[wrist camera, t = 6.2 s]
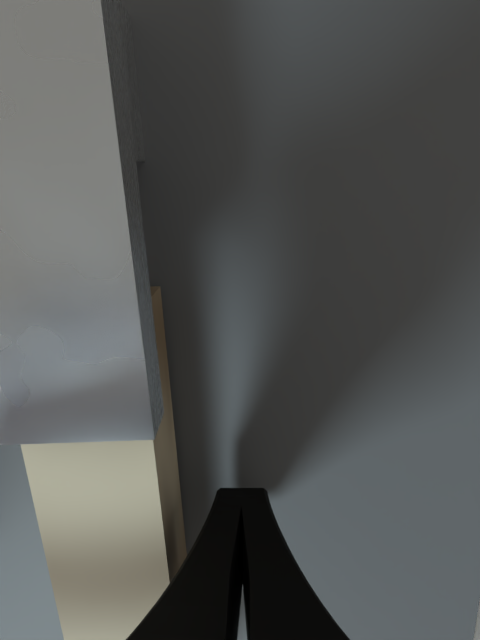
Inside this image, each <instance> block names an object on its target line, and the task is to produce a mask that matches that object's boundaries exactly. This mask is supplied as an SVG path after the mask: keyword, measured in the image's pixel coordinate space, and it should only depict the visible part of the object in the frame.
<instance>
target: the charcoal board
mask: <svg viewBox="0 0 480 640" xmlns="http://www.w3.org/2000/svg"><path fill="white" fill-rule="evenodd" d="M120 2H121V3H122V5H123V6H124V7H125V9H126V10H127V12H128V13H129V15H130V20H131V30H132V39H133V48H134V58H135V67H136V77H137V86H138V96H139V105H140V114H141V124H142V133H143V143H144V152H145V161H144V162H136V166H137V175H138V184H139V193H140V202H141V210H142V219H143V228H144V237H145V246H146V255H147V264H148V273H149V282H150V287H154V286H160V289H161V299H162V309H163V319H164V329H165V339H166V349H167V359H168V370H169V380H170V390H171V400H172V410H173V420H174V430H175V440H176V450H177V461H178V471H179V481H180V491H181V501H182V511H183V521H184V531H185V542H186V552H187V555H188V553H189V552H190V550H191V548H192V546H193V545H194V543H195V541H196V539H197V537H198V535H199V533H200V531H201V529H202V527H203V525H204V523H205V521H206V519H207V516H208V514H209V512H210V510H211V507H212V504H213V502H214V499H215V496H216V492H217V491H218V490H219V489H220V488H264V489H265V490H266V491H267V492H268V497H269V501H270V504H271V507H272V510H273V513H274V516H275V518H276V521H277V523H278V525H279V528H280V530H281V532H282V534H283V536H284V538H285V540H286V542H287V545H288V547H289V549H290V551H291V553H292V554H293V556H294V558H295V560H296V562H297V564H298V565H299V567H300V569H301V571H302V572H303V574H304V576H305V577H306V579H307V581H308V582H309V584H310V585H311V587H312V589H313V590H314V592H315V593H316V595H317V596H318V598H319V599H320V601H321V602H322V604H323V605H324V606H325V608H326V609H327V611H328V612H329V613H330V615H331V616H332V617H333V619H334V620H335V622H336V623H337V624H338V625H339V627H340V628H341V629H342V630H343V632H344V633H345V634H346V635H347V637H348V638H349V639H350V640H473V638H474V632H475V625H476V619H477V612H478V606H479V599H480V0H120ZM0 640H64V638H63V633H62V629H61V624H60V620H59V615H58V611H57V606H56V602H55V597H54V593H53V588H52V584H51V579H50V575H49V570H48V566H47V561H46V557H45V552H44V548H43V543H42V539H41V534H40V530H39V525H38V521H37V516H36V512H35V507H34V503H33V498H32V494H31V489H30V485H29V481H28V476H27V472H26V467H25V463H24V458H23V454H22V449H21V445H20V444H19V445H0ZM237 640H247V631H246V619H245V606H244V594H243V585H242V596H241V606H240V616H239V626H238V636H237Z"/></svg>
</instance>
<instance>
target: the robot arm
mask: <svg viewBox="0 0 480 640" xmlns="http://www.w3.org/2000/svg"><path fill="white" fill-rule="evenodd" d="M242 585H243V594H244V606H245V619H246V631H247V640H350V639H349V638H348V637H347V635H346V634H345V633H344V632H343V630H342V629H341V628H340V627H339V625H338V624H337V623H336V622H335V620H334V619H333V617H332V616H331V615H330V613H329V612H328V611H327V609H326V608H325V606H324V605H323V604H322V602H321V601H320V599H319V598H318V596H317V595H316V593H315V592H314V590H313V589H312V587H311V585H310V584H309V582H308V581H307V579H306V577H305V576H304V574H303V572H302V571H301V569H300V567H299V565H298V564H297V562H296V560H295V558H294V556H293V554H292V553H291V551H290V549H289V547H288V545H287V542H286V540H285V538H284V536H283V534H282V532H281V530H280V528H279V525H278V523H277V521H276V518H275V516H274V513H273V510H272V507H271V504H270V501H269V497H268V492H267V491H266V490H265V489H264V488H220V489H219V490H218V491H217V492H216V496H215V499H214V502H213V504H212V507H211V510H210V512H209V514H208V516H207V519H206V521H205V523H204V525H203V527H202V529H201V531H200V533H199V535H198V537H197V539H196V541H195V543H194V545H193V546H192V548H191V550H190V552H189V553H188V555H187V557H186V558H185V560H184V562H183V563H182V565H181V567H180V568H179V570H178V572H177V573H176V575H175V576H174V578H173V579H172V581H171V582H170V584H169V585H168V587H167V588H166V590H165V591H164V592H163V594H162V595H161V597H160V598H159V599H158V601H157V602H156V603H155V605H154V606H153V607H152V608H151V610H150V611H149V612H148V613H147V615H146V616H145V617H144V619H143V620H142V621H141V622H140V624H139V625H138V626H137V627H136V628H135V630H134V631H133V632H132V633H131V634H130V635H129V637H128V638H127V639H126V640H237V636H238V626H239V616H240V606H241V596H242Z"/></svg>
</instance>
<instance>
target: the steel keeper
mask: <svg viewBox="0 0 480 640" xmlns="http://www.w3.org/2000/svg"><path fill="white" fill-rule="evenodd" d="M144 161H145V152H144V143H143V133H142V124H141V114H140V105H139V96H138V86H137V77H136V67H135V58H134V48H133V39H132V30H131V20H130V15H129V13H128V12H127V10H126V9H125V7H124V6H123V5H122V3H121V2H120V0H0V445H19V444H48V443H77V442H106V441H135V440H155V437H156V434H157V431H158V429H159V426H160V423H161V420H162V417H163V414H164V406H163V397H162V388H161V379H160V370H159V362H158V353H157V344H156V335H155V326H154V317H153V308H152V299H151V290H150V282H149V273H148V264H147V255H146V246H145V237H144V228H143V219H142V210H141V202H140V193H139V184H138V175H137V166H136V162H144Z"/></svg>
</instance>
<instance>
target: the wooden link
mask: <svg viewBox="0 0 480 640" xmlns="http://www.w3.org/2000/svg"><path fill="white" fill-rule="evenodd" d="M150 290H151V299H152V308H153V317H154V326H155V335H156V344H157V353H158V362H159V370H160V379H161V388H162V397H163V406H164V414H163V417H162V420H161V423H160V426H159V429H158V431H157V434H156V437H155V440H135V441H106V442H77V443H48V444H20V445H21V449H22V454H23V458H24V463H25V467H26V472H27V476H28V481H29V485H30V489H31V494H32V498H33V503H34V507H35V512H36V516H37V521H38V525H39V530H40V534H41V539H42V543H43V548H44V552H45V557H46V561H47V566H48V570H49V575H50V579H51V584H52V588H53V593H54V597H55V602H56V606H57V611H58V615H59V620H60V624H61V629H62V633H63V638H64V640H126V639H127V638H128V637H129V635H130V634H131V633H132V632H133V631H134V630H135V628H136V627H137V626H138V625H139V624H140V622H141V621H142V620H143V619H144V617H145V616H146V615H147V613H148V612H149V611H150V610H151V608H152V607H153V606H154V605H155V603H156V602H157V601H158V599H159V598H160V597H161V595H162V594H163V592H164V591H165V590H166V588H167V587H168V585H169V584H170V582H171V581H172V579H173V578H174V576H175V575H176V573H177V572H178V570H179V568H180V567H181V565H182V563H183V562H184V560H185V558H186V557H187V552H186V542H185V531H184V521H183V511H182V501H181V491H180V481H179V471H178V461H177V450H176V440H175V430H174V420H173V410H172V400H171V390H170V380H169V370H168V359H167V349H166V339H165V329H164V319H163V309H162V299H161V289H160V286H154V287H150Z"/></svg>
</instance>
